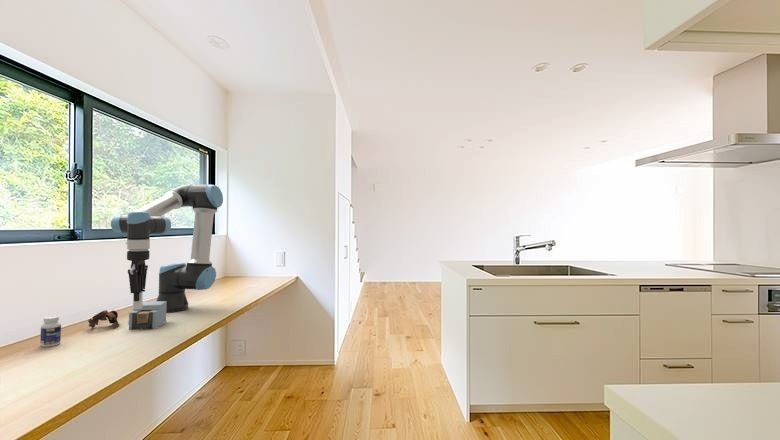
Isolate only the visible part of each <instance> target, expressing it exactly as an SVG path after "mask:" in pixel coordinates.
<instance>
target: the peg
mask: <svg viewBox="0 0 780 440" xmlns="http://www.w3.org/2000/svg"><path fill="white" fill-rule="evenodd" d="M151 311H152V310H143V311H141V312H139V313H138V314H137V323H149V312H151Z"/></svg>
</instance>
